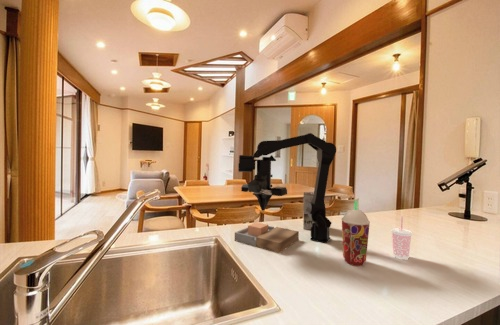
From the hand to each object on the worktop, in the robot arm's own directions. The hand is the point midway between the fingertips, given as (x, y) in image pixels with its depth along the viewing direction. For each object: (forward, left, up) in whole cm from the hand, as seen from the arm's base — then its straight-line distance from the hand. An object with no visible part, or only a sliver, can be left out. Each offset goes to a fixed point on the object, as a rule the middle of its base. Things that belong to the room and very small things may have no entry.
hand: (263, 210), depth 98 cm
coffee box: (-9, -28, -12) cm, 32 cm away
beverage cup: (-47, -14, -12) cm, 51 cm away
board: (-7, 0, -12) cm, 14 cm away
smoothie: (-35, 0, -12) cm, 37 cm away
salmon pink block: (+2, 0, -10) cm, 10 cm away
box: (+3, 0, -12) cm, 12 cm away
